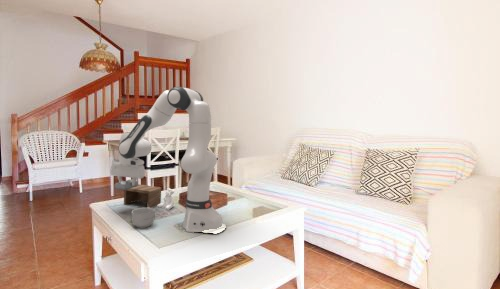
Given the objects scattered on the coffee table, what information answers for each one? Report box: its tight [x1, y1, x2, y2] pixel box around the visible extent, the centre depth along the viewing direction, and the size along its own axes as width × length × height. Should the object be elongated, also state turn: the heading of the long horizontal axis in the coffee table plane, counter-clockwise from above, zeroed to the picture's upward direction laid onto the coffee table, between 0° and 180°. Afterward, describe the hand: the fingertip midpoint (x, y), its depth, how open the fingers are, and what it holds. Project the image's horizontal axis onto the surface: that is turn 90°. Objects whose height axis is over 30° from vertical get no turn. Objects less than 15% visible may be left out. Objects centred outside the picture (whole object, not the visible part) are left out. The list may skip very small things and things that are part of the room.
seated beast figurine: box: [156, 187, 175, 212], centre depth 175 cm, size 10×9×12 cm
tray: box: [114, 178, 139, 191], centre depth 163 cm, size 12×6×4 cm, turn 166°
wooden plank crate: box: [123, 183, 162, 208], centre depth 178 cm, size 18×12×10 cm, turn 74°
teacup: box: [131, 206, 156, 229], centre depth 144 cm, size 14×11×8 cm
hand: (126, 184), depth 163 cm, fingers closed on tray, 6 cm apart
